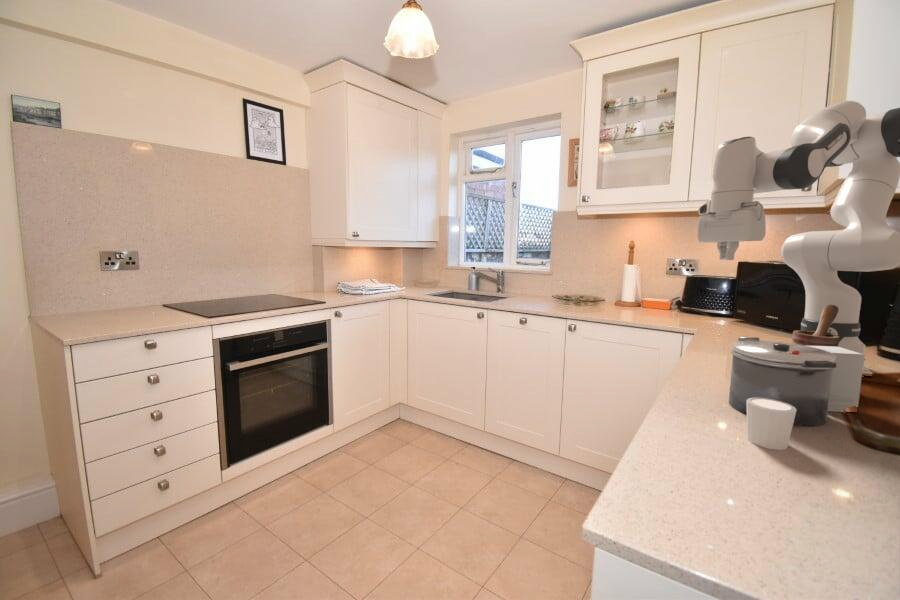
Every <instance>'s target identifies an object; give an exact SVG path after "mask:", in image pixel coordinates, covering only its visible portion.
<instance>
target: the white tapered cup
mask: <svg viewBox="0 0 900 600" xmlns="http://www.w3.org/2000/svg"><path fill="white" fill-rule="evenodd" d="M746 402H747V415H746V436H747V441H750V442H751V443H752V444H754V445H756V446H759V447H762V448H766V449H769V450H770V449H771V450H774V451H775V450H777V451H778V450H780V451H782V450H786V449H787V448H788V447H789V443H790V438H791V435H792V430H793V427H794V426H793V423H794V419H795V414H796V408H795V407H794V406H792V405H790V404H787V403H784V402H781V401H777V400H773V399H767V398H749V399H747V400H746Z"/></svg>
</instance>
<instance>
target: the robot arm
mask: <svg viewBox="0 0 900 600" xmlns="http://www.w3.org/2000/svg"><path fill="white" fill-rule="evenodd" d="M790 144H791V147H787V148H783V149H778V150H774V151H769V152H764V151H762V150H760V149H759V148H758V147H757V141H756V137H754V136H743V137H739V138H734V139H731V140H726V141H724V142H722V143H720V144H719V146H718V147H717V149H716V152H715V157H714V162H713V169H712V179H713V187H712V190H711V192H710V193H711V195H710V199H708V200H707V201H706V202H705V203H703V204H702V205H700V206H699V207H698V211H697V212H698V213H697V214H698V216H699V215H700V216H699V217H698V218H699V219H698V223H697V240H698V242H699V243H716V247H717V251H718V252H719V258H718V259H719V260H720V261H734V259H735V253H736V251H737V250H738V248H739V247H740V243H741V242H762V241H763V240H764V238H766V231H767V230H766V229H767V227H766V225H767V223H766V214H765V211H764V205H763V204H762V203H761V202H760V201H758V200H754V197H755V196H754V195H755V194H759V193H761V194H762V193H768V192H769V193H771V192H777V191H786V190H804V189H807V188H809V187H811V186H813V185H814V184H815V183H816V182H817V181H818V179H819V178H820V177H821V176H822V174H823V173H824V170H825V169H826V168H833V167H840V166H844V165H847V164H852V169H851V171H850V172H849V173H848V175H846V178H845V179H844V181H843V182H842V185H841V187H840V189H839V190H838V193H837V195H836V197H835V199H834V201H833V203H832V205H831V208H830V216H831V217H830V218H832V220H833V221H834V222H835V223H837V224H838V225H840V226H842V227H843V228H844V229H839V230H836V229H835V230H814V231H806V232H800V233H796V234H792V235H790V236H789V237H787V238H786V239H785V240H784V241H783V243H782V245H781V248H780V249H781V250H780V255H781V259H782V261H783V262H784V264H786V265H787V266H788V267H789V268H791V269H792V270H794V272H795V273H796V274H797V275H798V276H799V278H800V280H801V282H802V285H803V287H804V290H805V291H804V292H805V293H804V294H805V301H804V302H805V305H804V306H805V307H804V317H802V319H801V322H800V330H804V331H816V330H817V327H818V324H819V321H820V317H821V313H822V310H823V308H824V307H825V306H826V305H835V306H837V307H838V308H839V310H838V313H837V316H836V318H835V319H834V321H833V322H832V323H831V325H830V327H829V329H828V333H829V334H833V335H837V336H839V345H838V347H841V348H844V349H848V350H851V351H854V352H858V353H861V354H864V362H863V370H862V373H869V374H873V375H874V373H873V371H871V370H870V369H869V368H867V367H866V366H865V361H866V359H865V356H866V344H864V343H863V341H861V340H860V338H859V336H860V332H861V323H860V314H861V313H860V311H861V307H862V306H861V305H862V295H861V293H860V292H859V291H858V290H857V289H856V288H855V287H853V286H851V285H848V284H846V283H844V282H843V281H841V279H840V278H839V276H838V271H841V272H844V271H845V272H865V273H866V272H867V273H868V272H877V271H878V272H879V271H887V270H894V269H896V268H897V267H899V266H900V232H899V231H897V230H895V229H894V228H892V227H891V226H890V225H889V224H888V222H887V213H888V210H889V207H890V205H891V202H892V200H893V198H894V196H895V193H896V190H897V188H898V185H899V181H900V161H899V160H898V159H897V158H900V107H896V108H891V109H889V110H888V111H886V112H880V113H876V114H873V115H870V116H867V110H866V108H865V106H863V104H861V103H860V102H858V101H854V100H844V101H840V102H836V103H832V104H830V105H828V106H825V107H823V108H822V109H820V110H818V111H817V112H814V113H813V114H811V115H810V116H808V117H807V118H805V119H804V120H803V121H801V122H800V123H799V124H798V125H796V127H795V128H794V129H793V131H792V134H791V136H790Z"/></svg>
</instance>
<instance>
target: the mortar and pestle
mask: <svg viewBox="0 0 900 600" xmlns="http://www.w3.org/2000/svg"><path fill="white" fill-rule="evenodd" d="M838 310H839V308H838V307H837V306H835V305H826V306H825V307H824V308H823V310H822V313H821V317H820V321H819V324H818V327H817V330H816V331H804V330H801V329H799V330H798V329H797V330H793V331H792V338H791V340H792V342H791V344H797V345H803V346H835V347H838V345H839V336H837V335H833V334H829V333H828V329H829V327H830V325H831V323H832V322H833V321H834V319H835V318H836V316H837V313H838Z"/></svg>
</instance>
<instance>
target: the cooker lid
mask: <svg viewBox="0 0 900 600" xmlns="http://www.w3.org/2000/svg"><path fill="white" fill-rule="evenodd" d="M731 344H732V345H731V351H732V350H733V351H735V352H737V353H739V354H742V355H745V356H749V357H752V358H757V359H761V360H767V361H772V362H779V363H786V364H796V365H807V366H811V367H814V368H836V364H837V363H835V362H836V355H834V354H833V353H830V352H828V351H825V350H821V349H817V348H813V347H808V346H803V345H797V344H792V342H791V343H789V342H781V341H771V340H770V341H769V340H761V339H760V337H756V336H755V337H753V336H752V337H750V336H749V337H748V336H747V337H742V336H741V337H738V341H737V340H736V341H733V342H732V343H731Z"/></svg>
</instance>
